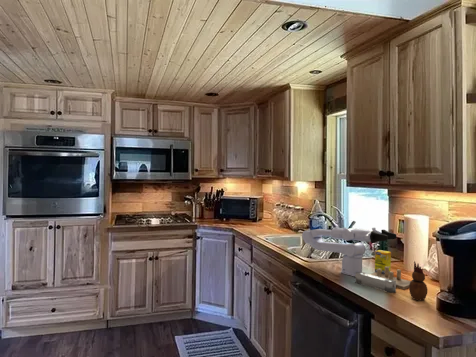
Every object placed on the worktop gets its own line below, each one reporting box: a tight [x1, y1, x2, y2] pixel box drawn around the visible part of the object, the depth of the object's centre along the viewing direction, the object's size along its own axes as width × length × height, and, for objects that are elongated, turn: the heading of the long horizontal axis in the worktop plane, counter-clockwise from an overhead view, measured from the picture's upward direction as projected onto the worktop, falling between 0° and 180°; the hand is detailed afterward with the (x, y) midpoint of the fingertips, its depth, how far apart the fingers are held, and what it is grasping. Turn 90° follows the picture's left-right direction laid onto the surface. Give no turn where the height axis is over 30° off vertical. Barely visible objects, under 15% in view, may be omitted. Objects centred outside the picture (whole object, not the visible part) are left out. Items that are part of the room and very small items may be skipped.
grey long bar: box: [354, 271, 397, 294], centre depth 157 cm, size 19×5×4 cm, turn 38°
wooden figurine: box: [408, 261, 428, 302], centre depth 142 cm, size 7×6×15 cm
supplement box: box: [374, 249, 392, 275], centre depth 182 cm, size 6×6×11 cm
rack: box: [369, 267, 412, 290], centre depth 165 cm, size 20×11×6 cm, turn 38°
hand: (391, 237), depth 161 cm, fingers open, 7 cm apart
